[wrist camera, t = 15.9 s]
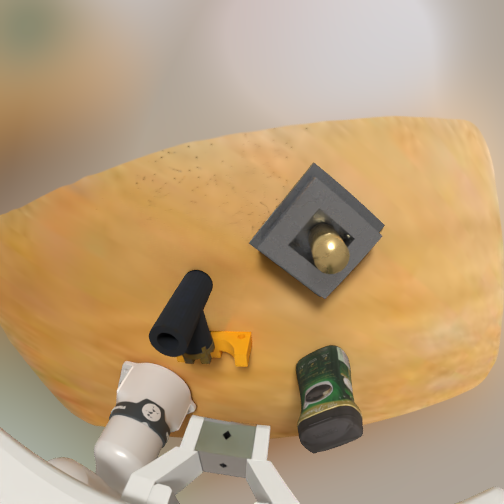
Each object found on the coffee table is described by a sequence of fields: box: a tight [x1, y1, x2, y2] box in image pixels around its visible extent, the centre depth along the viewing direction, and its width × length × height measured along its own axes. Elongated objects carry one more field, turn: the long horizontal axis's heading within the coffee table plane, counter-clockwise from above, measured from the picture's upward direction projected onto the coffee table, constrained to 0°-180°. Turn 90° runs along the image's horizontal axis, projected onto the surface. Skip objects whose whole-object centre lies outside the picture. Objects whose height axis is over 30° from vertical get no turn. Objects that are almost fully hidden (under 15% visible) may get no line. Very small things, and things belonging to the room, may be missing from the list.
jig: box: [249, 163, 385, 299], centre depth 39 cm, size 15×14×5 cm
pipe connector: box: [149, 270, 215, 364], centre depth 40 cm, size 12×5×15 cm, turn 9°
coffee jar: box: [296, 345, 363, 453], centre depth 40 cm, size 10×8×19 cm
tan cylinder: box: [308, 224, 350, 274], centre depth 37 cm, size 4×4×8 cm
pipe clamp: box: [177, 331, 252, 367], centre depth 47 cm, size 12×4×6 cm, turn 94°
